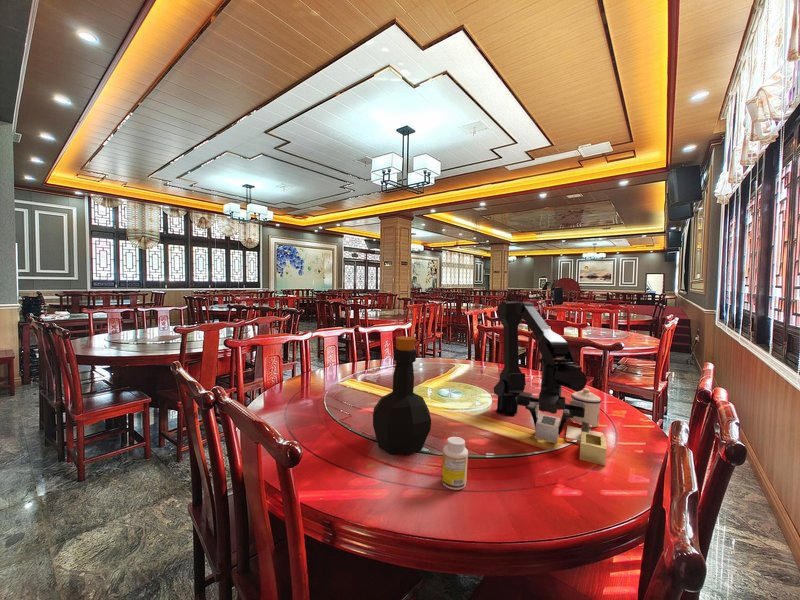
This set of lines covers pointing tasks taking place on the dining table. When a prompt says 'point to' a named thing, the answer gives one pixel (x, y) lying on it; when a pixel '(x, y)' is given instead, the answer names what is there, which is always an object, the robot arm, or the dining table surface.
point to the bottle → (402, 407)
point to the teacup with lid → (588, 406)
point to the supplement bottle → (454, 464)
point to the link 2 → (593, 448)
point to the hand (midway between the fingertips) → (547, 431)
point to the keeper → (579, 431)
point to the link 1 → (547, 428)
